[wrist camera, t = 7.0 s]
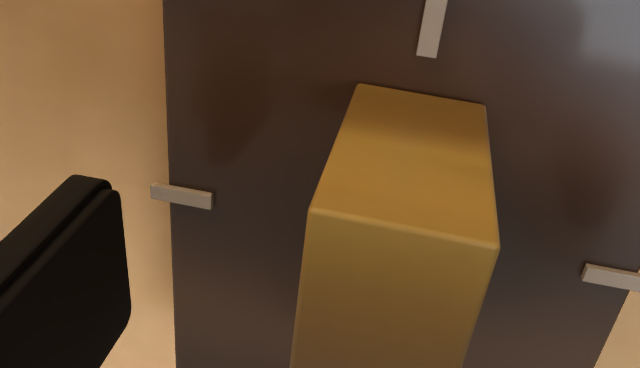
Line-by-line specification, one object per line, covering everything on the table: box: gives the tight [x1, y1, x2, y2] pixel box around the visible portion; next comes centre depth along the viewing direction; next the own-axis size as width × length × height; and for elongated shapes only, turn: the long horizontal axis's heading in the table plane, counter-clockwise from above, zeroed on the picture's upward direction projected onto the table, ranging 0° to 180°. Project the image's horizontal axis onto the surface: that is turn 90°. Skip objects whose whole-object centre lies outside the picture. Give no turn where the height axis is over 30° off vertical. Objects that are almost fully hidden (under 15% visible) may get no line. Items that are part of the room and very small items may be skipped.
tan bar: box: [289, 83, 500, 368], centre depth 11 cm, size 6×2×5 cm, turn 174°
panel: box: [150, 0, 640, 368], centre depth 14 cm, size 13×11×3 cm
